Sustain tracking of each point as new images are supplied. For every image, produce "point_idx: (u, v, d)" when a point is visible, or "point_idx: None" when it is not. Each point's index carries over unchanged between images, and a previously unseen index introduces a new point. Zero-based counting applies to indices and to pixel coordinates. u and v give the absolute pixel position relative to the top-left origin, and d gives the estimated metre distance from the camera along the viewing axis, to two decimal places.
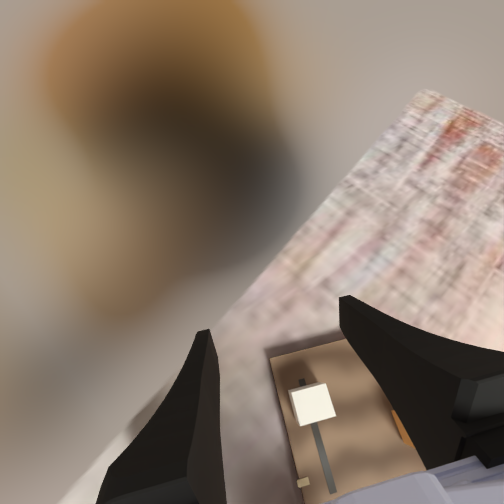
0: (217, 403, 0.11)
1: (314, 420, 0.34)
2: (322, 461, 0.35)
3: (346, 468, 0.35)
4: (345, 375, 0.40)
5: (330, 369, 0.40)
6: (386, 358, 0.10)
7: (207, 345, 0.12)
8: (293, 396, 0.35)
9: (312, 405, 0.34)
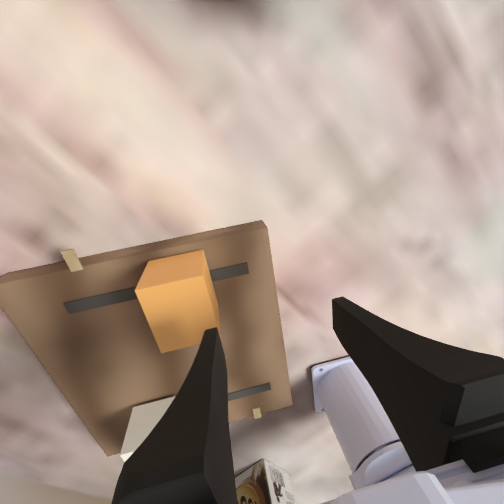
0: (226, 401, 0.11)
1: None
2: (237, 396, 0.26)
3: (246, 372, 0.25)
4: (118, 370, 0.22)
5: (110, 388, 0.23)
6: (377, 360, 0.10)
7: (216, 343, 0.12)
8: None
9: None
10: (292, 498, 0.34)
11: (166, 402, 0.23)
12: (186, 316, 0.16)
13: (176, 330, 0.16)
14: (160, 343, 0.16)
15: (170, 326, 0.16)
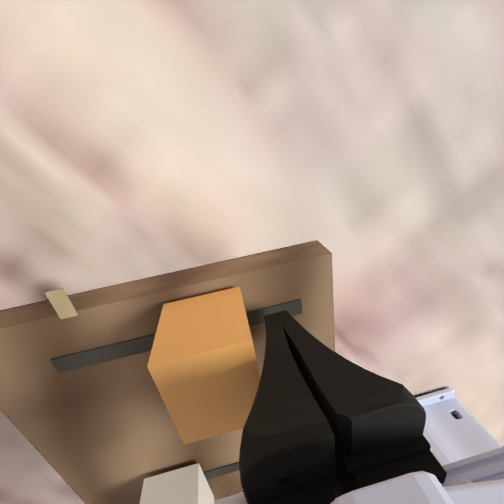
0: None
1: None
2: None
3: None
4: (125, 437, 0.17)
5: (115, 458, 0.18)
6: (304, 380, 0.10)
7: (282, 326, 0.12)
8: None
9: None
10: None
11: (187, 474, 0.18)
12: (223, 396, 0.11)
13: (207, 415, 0.11)
14: (183, 432, 0.11)
15: (198, 411, 0.11)
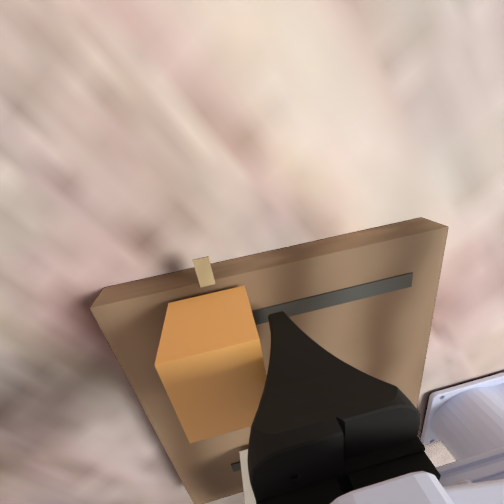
0: None
1: None
2: None
3: None
4: None
5: None
6: None
7: None
8: None
9: None
10: None
11: None
12: (229, 394, 0.11)
13: (214, 414, 0.11)
14: (189, 431, 0.11)
15: (205, 409, 0.11)
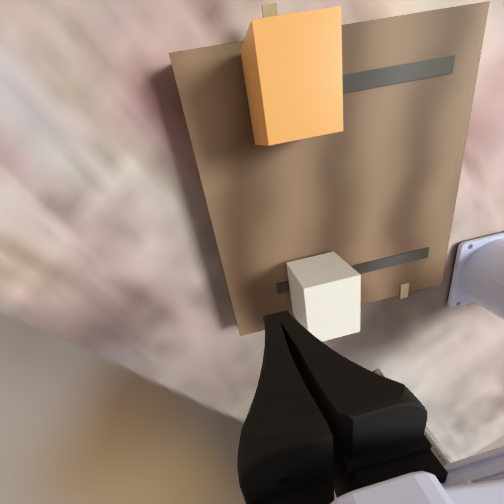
0: None
1: (357, 310, 0.18)
2: (390, 264, 0.23)
3: (409, 229, 0.21)
4: (279, 208, 0.19)
5: (265, 235, 0.20)
6: (305, 380, 0.10)
7: (281, 327, 0.12)
8: None
9: (335, 312, 0.18)
10: None
11: (326, 256, 0.20)
12: (309, 81, 0.12)
13: (293, 106, 0.12)
14: (270, 127, 0.13)
15: (286, 98, 0.12)
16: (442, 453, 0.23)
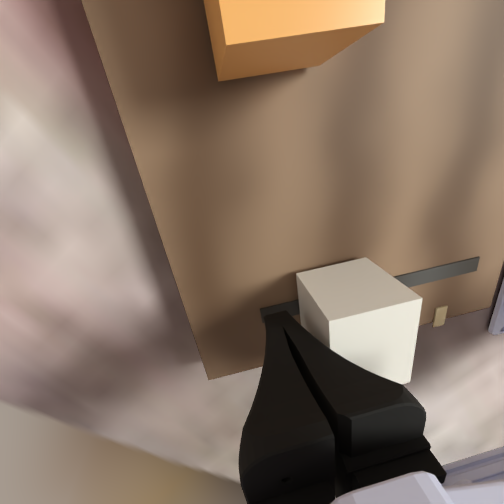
0: None
1: (410, 352, 0.11)
2: (424, 279, 0.16)
3: (454, 230, 0.15)
4: (263, 195, 0.12)
5: (241, 237, 0.13)
6: (304, 380, 0.10)
7: (282, 326, 0.12)
8: None
9: (376, 356, 0.11)
10: None
11: (356, 264, 0.13)
12: None
13: None
14: None
15: None
16: None
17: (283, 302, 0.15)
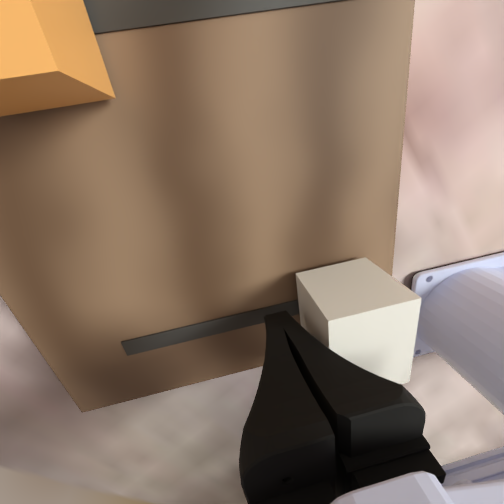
0: None
1: (409, 352, 0.12)
2: None
3: (326, 259, 0.14)
4: (93, 229, 0.11)
5: (80, 271, 0.12)
6: None
7: (282, 326, 0.12)
8: None
9: (376, 355, 0.11)
10: None
11: (356, 264, 0.13)
12: None
13: None
14: None
15: None
16: None
17: (147, 334, 0.14)
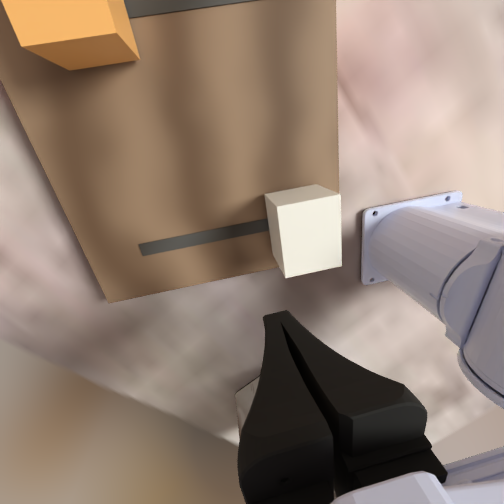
0: None
1: (338, 239, 0.17)
2: None
3: (287, 186, 0.19)
4: (122, 153, 0.17)
5: (112, 185, 0.17)
6: (305, 380, 0.10)
7: (281, 327, 0.12)
8: (292, 274, 0.17)
9: (313, 239, 0.16)
10: None
11: (308, 187, 0.19)
12: None
13: None
14: (15, 21, 0.10)
15: None
16: None
17: (157, 239, 0.19)
